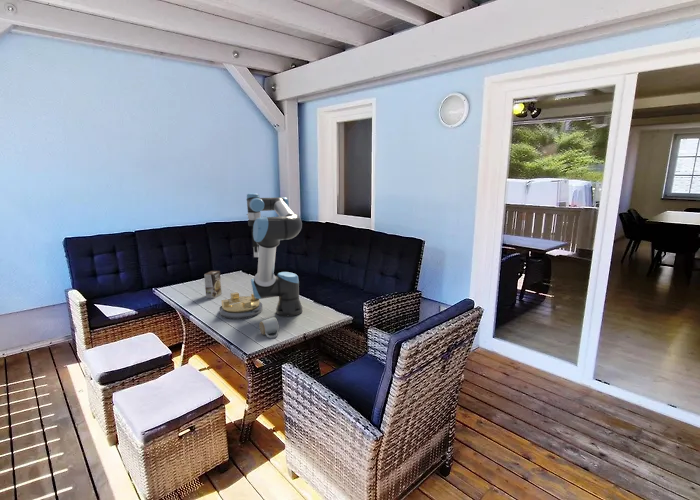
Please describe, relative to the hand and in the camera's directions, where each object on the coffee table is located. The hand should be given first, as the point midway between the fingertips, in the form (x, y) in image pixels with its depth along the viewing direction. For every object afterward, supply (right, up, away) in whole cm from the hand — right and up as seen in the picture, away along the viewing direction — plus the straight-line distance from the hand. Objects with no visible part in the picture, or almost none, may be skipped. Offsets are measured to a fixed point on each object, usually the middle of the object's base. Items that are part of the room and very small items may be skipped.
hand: (256, 256), depth 227 cm
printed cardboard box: (-31, -26, +14) cm, 43 cm away
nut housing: (-6, -32, -12) cm, 35 cm away
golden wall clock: (-6, -29, -13) cm, 32 cm away
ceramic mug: (+18, -39, -42) cm, 60 cm away
